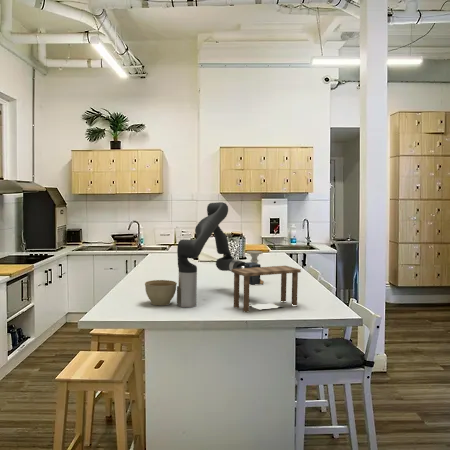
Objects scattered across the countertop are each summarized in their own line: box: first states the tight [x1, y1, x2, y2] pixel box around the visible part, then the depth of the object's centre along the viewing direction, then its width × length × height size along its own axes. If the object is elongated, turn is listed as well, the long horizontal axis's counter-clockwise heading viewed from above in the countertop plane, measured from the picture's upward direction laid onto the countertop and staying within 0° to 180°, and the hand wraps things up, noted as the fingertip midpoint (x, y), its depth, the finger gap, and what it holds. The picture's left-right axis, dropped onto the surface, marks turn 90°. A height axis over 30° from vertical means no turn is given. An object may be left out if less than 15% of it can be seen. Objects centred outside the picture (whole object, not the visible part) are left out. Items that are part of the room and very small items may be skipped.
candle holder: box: [246, 250, 265, 285], centre depth 318 cm, size 12×12×20 cm
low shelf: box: [230, 265, 302, 313], centre depth 254 cm, size 32×14×19 cm, turn 117°
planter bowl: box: [144, 279, 178, 306], centre depth 258 cm, size 16×16×11 cm
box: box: [244, 261, 262, 286], centre depth 267 cm, size 8×6×11 cm
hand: (253, 272), depth 265 cm, fingers closed on box, 5 cm apart
